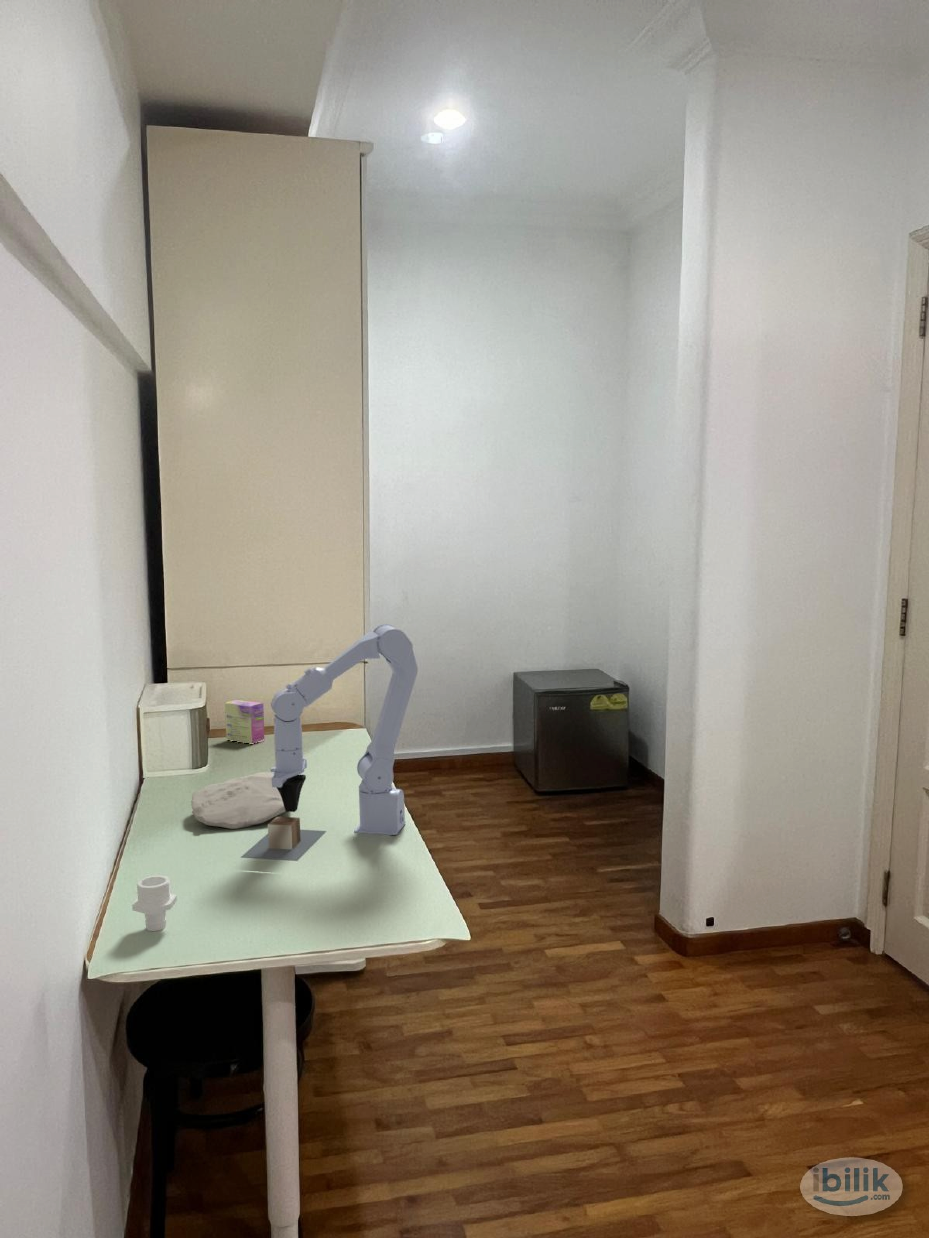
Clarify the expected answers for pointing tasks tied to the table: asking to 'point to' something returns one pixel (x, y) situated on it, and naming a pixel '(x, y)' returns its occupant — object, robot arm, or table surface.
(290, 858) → the mat
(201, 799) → the rock
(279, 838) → the cube
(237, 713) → the box
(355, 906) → the table surface
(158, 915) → the pipe fitting
